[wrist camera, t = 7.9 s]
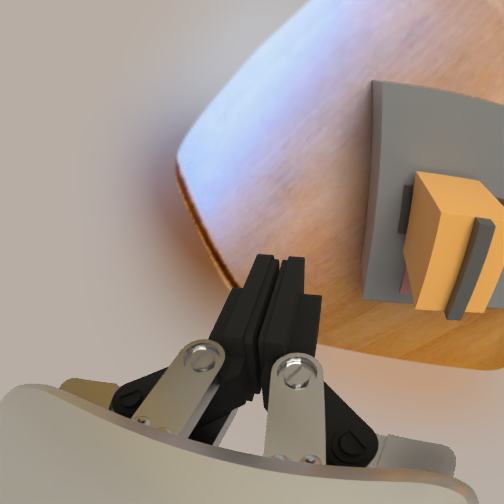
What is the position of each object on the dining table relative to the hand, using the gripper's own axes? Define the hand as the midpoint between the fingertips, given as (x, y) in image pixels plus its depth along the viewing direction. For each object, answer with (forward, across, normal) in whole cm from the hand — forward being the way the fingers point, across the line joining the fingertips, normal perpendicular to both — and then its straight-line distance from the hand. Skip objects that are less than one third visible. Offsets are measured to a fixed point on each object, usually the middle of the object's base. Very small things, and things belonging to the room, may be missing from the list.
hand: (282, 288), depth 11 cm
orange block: (+7, -8, 0) cm, 11 cm away
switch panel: (+12, -13, 0) cm, 18 cm away
